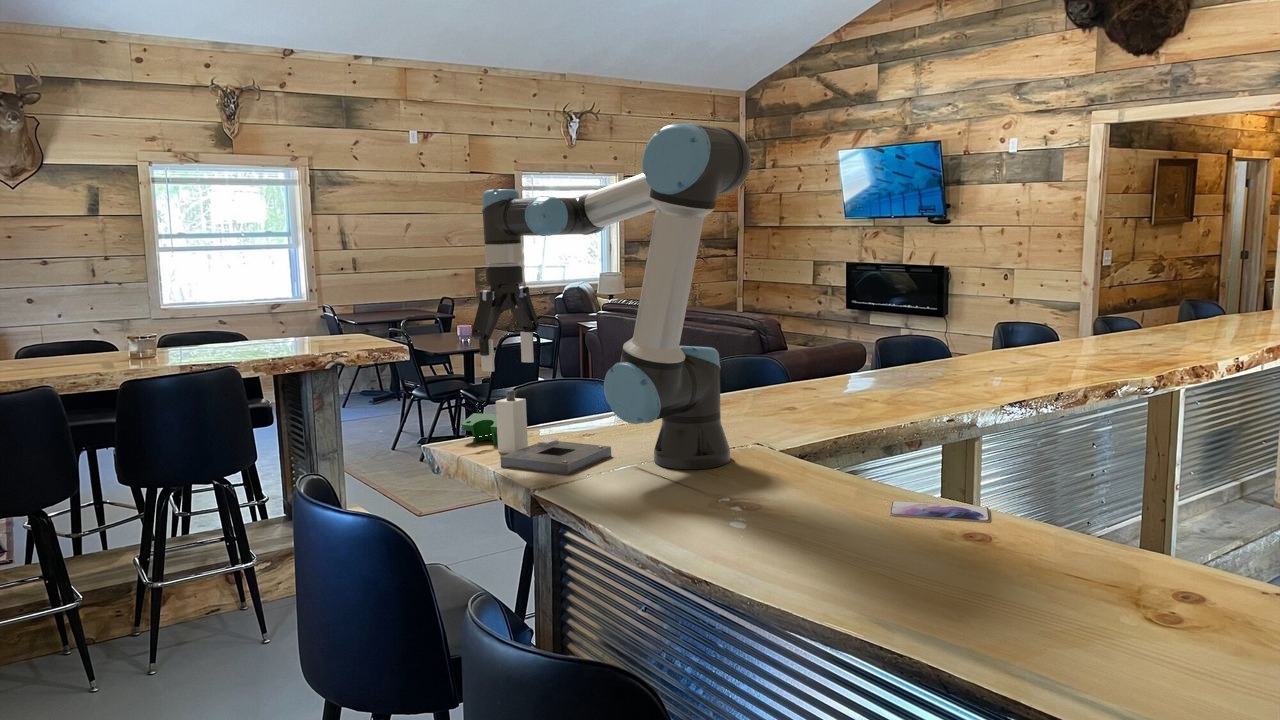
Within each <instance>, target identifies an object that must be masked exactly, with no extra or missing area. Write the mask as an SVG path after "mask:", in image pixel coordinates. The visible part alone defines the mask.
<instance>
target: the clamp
mask: <svg viewBox="0 0 1280 720" xmlns="http://www.w3.org/2000/svg"><path fill="white" fill-rule="evenodd" d="M461 426H462V430H463V431H467V432H469V431H470V432H471V433H472V434H471V435H472V439H473V444H474V445H475V444H478V443H479V442H482V441H486V440H487V441H492V442H493V445H494V446H498V437H497V417H496V414H494V413H493V414H492V413H475V412H474V413H472V414H470V415H469V417H467V418H466V419H465V420H464V421H462V422H461ZM490 434H492V435H490ZM485 435H488V436H485ZM479 436H482V437H479ZM473 437H475V438H473Z"/></svg>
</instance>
